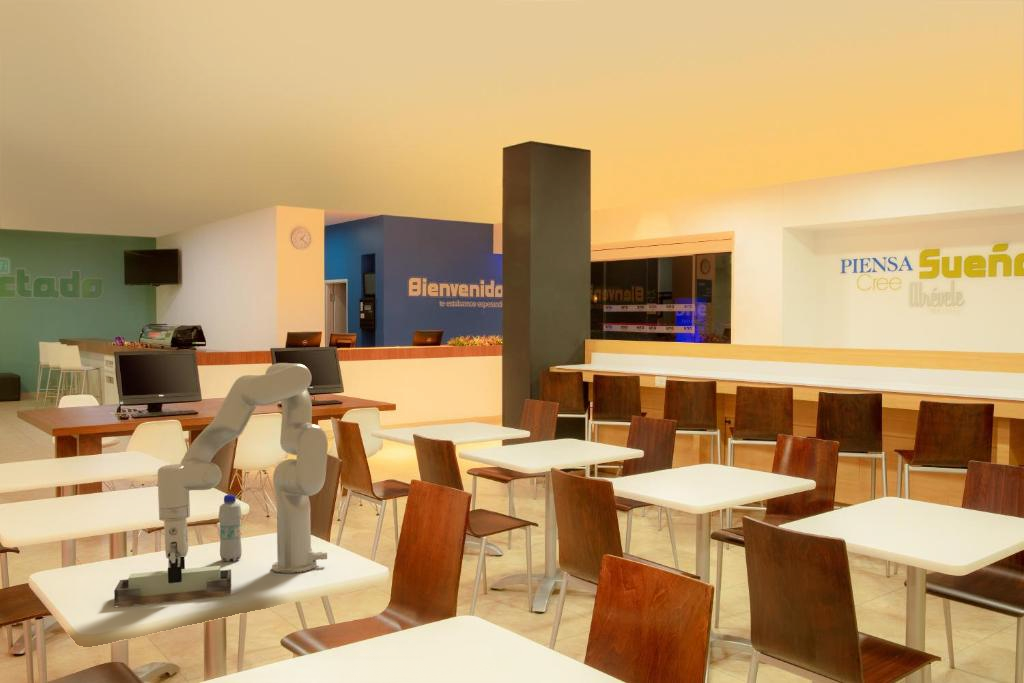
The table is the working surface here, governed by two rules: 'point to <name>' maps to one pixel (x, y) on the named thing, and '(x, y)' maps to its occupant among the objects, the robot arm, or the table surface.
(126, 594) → the cradle
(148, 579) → the slat
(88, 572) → the table surface
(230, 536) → the bottle
